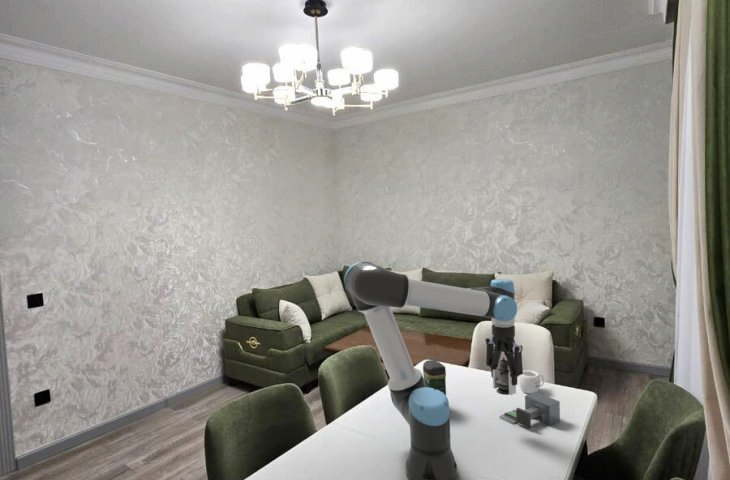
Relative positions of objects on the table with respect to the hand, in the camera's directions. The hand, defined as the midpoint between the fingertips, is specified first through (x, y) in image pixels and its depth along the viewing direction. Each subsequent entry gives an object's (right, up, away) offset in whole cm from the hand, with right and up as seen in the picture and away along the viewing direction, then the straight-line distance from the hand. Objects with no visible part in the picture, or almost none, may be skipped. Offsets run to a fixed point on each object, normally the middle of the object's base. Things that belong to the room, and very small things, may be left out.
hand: (504, 390), depth 140 cm
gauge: (+12, -14, +8) cm, 20 cm away
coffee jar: (-20, -15, +20) cm, 32 cm away
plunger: (+10, -13, +7) cm, 18 cm away
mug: (+23, -12, +32) cm, 42 cm away
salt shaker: (0, -1, 0) cm, 1 cm away
